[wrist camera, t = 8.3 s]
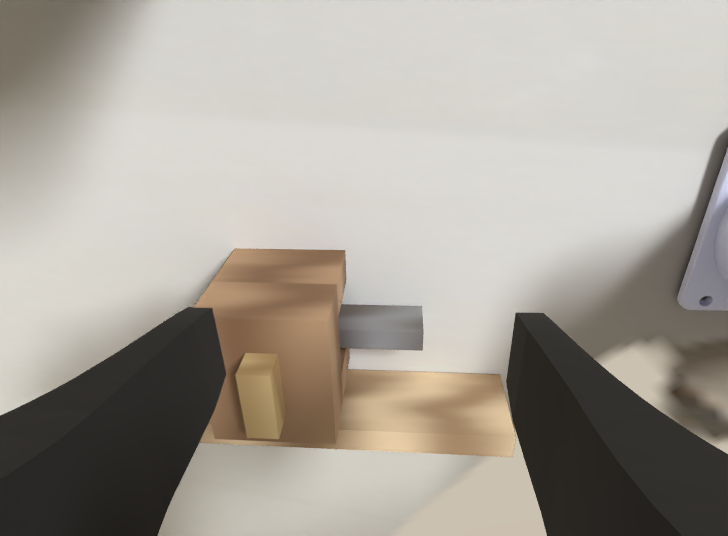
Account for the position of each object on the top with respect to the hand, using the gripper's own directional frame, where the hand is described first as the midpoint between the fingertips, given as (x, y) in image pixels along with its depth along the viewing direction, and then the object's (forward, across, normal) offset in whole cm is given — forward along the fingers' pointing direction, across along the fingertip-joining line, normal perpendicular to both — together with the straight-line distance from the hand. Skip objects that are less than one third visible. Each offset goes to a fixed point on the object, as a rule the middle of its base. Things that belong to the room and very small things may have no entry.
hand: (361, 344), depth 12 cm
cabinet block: (+10, +4, +5) cm, 12 cm away
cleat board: (+10, +3, +8) cm, 13 cm away
